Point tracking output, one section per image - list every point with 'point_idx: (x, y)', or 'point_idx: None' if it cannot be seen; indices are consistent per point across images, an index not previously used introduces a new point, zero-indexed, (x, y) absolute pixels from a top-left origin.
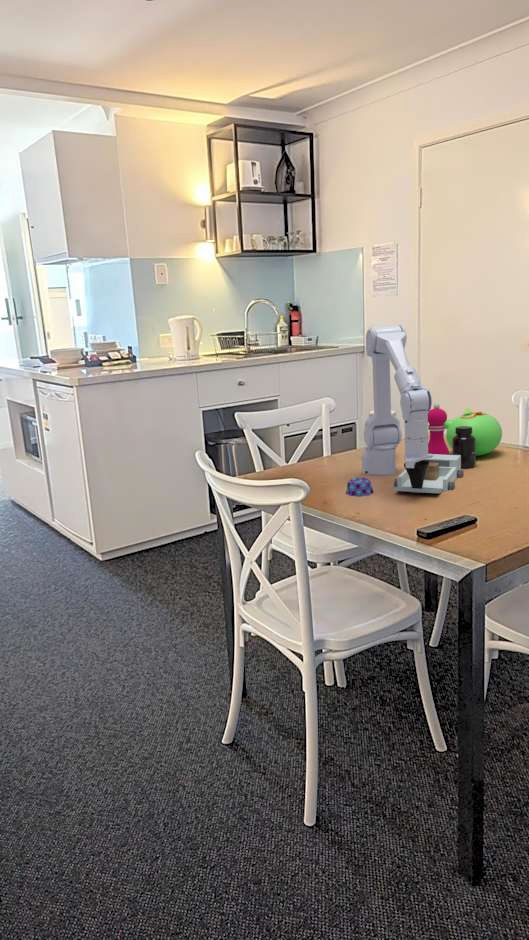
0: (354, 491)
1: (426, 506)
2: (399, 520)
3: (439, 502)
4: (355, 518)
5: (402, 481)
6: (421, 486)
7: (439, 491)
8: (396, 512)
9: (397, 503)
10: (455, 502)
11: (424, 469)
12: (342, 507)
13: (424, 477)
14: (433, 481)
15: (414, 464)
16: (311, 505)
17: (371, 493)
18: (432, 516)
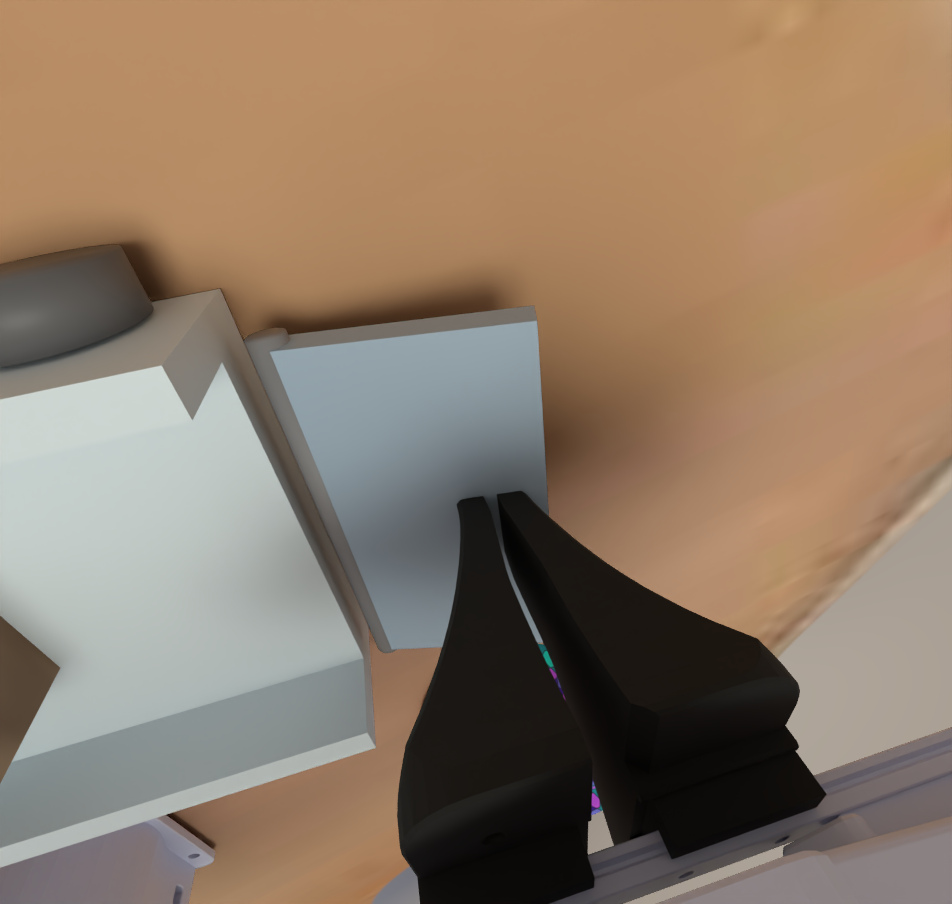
0: None
1: (608, 325)
2: (918, 347)
3: (461, 269)
4: (853, 541)
5: (321, 697)
6: (518, 502)
7: (412, 327)
8: (764, 437)
9: (584, 521)
10: (390, 87)
11: (655, 636)
12: None
13: (25, 670)
14: (15, 569)
15: (854, 769)
16: None
17: (555, 680)
18: (866, 156)
